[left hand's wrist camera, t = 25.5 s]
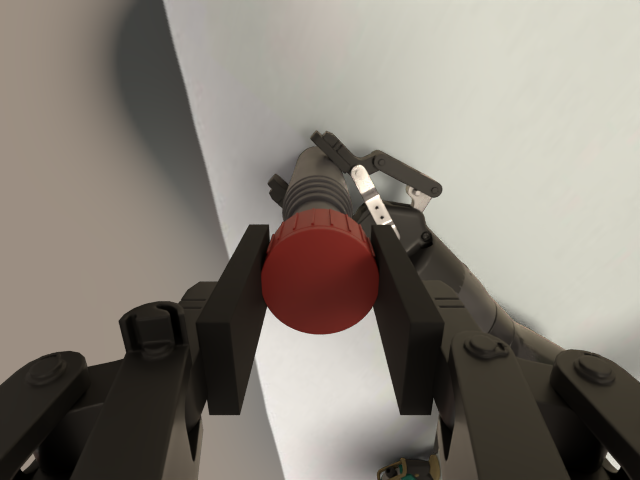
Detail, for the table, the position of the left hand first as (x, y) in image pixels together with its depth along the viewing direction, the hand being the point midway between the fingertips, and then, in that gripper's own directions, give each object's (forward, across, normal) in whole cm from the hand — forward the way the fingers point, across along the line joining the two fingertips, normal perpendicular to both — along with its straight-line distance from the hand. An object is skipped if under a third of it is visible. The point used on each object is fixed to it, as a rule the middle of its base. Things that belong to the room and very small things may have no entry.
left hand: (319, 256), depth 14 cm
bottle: (+22, 0, 0) cm, 22 cm away
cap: (-2, 0, 0) cm, 2 cm away
